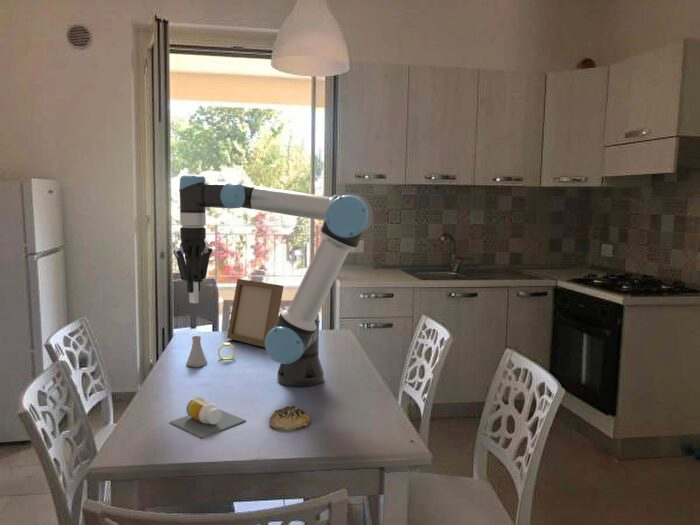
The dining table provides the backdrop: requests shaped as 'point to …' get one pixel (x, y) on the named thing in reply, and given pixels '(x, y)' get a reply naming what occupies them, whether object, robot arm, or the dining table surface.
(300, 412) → the bread roll
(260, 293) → the photo frame
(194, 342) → the flask
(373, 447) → the dining table surface
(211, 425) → the mat
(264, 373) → the dining table surface
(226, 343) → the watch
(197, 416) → the supplement bottle
